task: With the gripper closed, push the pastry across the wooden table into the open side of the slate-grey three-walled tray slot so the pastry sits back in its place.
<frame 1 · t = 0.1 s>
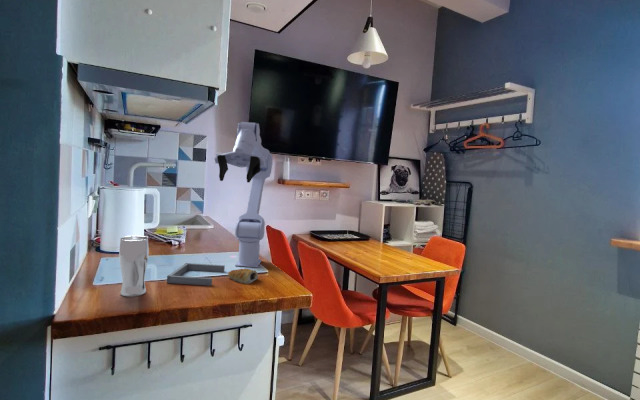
hand: (234, 179, 102), 32 cm above the countertop, tool tilted 50°, fingers open, 7 cm apart
tray slot: (199, 276, 115), on the countertop
pastry: (243, 281, 115), on the countertop
beer glass: (133, 293, 98), on the countertop
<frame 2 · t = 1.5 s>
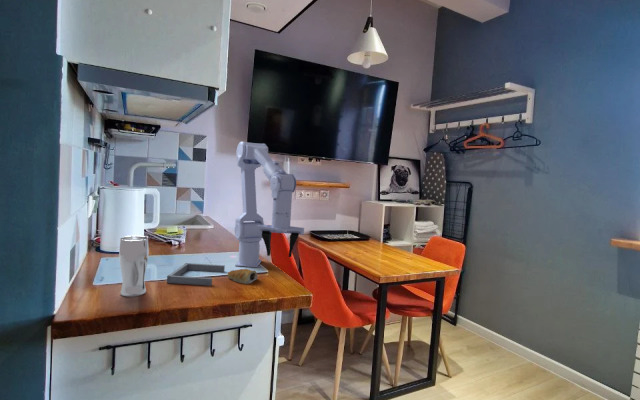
hand: (279, 255, 114), 8 cm above the countertop, tool pointing down, fingers open, 6 cm apart
nothing on the countertop moved.
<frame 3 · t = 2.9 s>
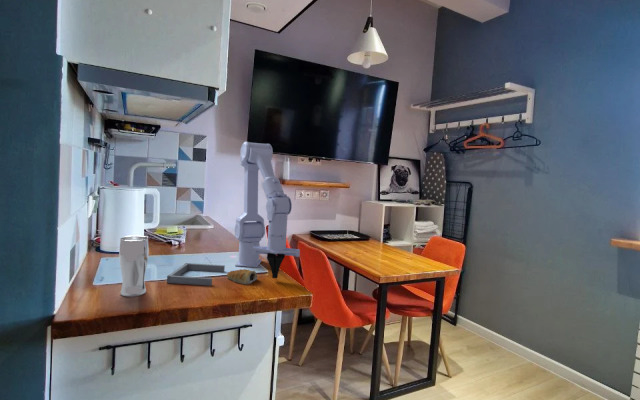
hand: (274, 277, 115), 1 cm above the countertop, tool pointing down, fingers closed
nothing on the countertop moved.
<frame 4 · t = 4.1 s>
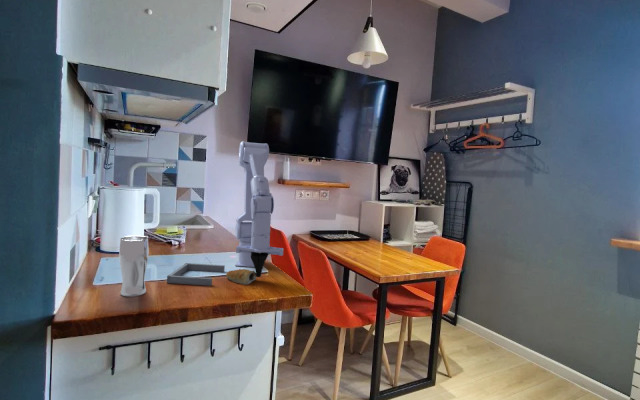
hand: (258, 276, 115), 1 cm above the countertop, tool pointing down, fingers closed
pastry: (241, 281, 114), on the countertop, touching gripper
everything else where it was.
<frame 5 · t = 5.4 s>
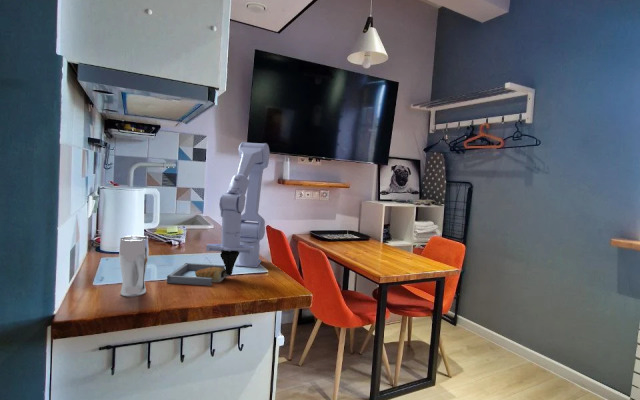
hand: (229, 274, 115), 1 cm above the countertop, tool pointing down, fingers closed
pastry: (211, 279, 113), on the countertop, touching gripper
everything else where it was.
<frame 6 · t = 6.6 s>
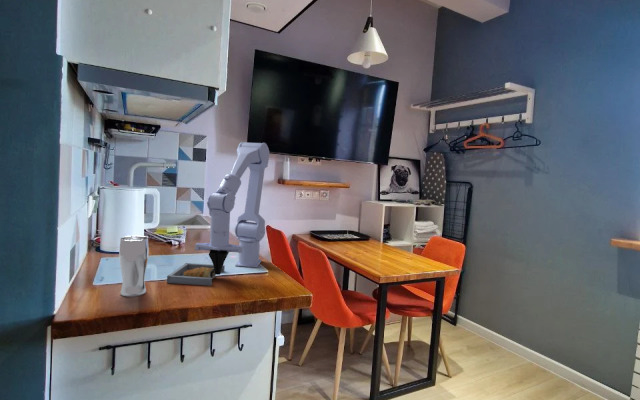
hand: (218, 273, 115), 1 cm above the countertop, tool pointing down, fingers closed
pastry: (200, 280, 113), on the countertop
everything else where it was.
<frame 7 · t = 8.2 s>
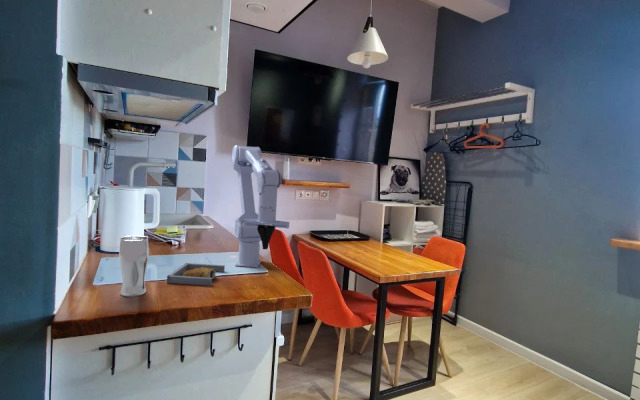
hand: (265, 248, 118), 9 cm above the countertop, tool pointing down, fingers closed
nothing on the countertop moved.
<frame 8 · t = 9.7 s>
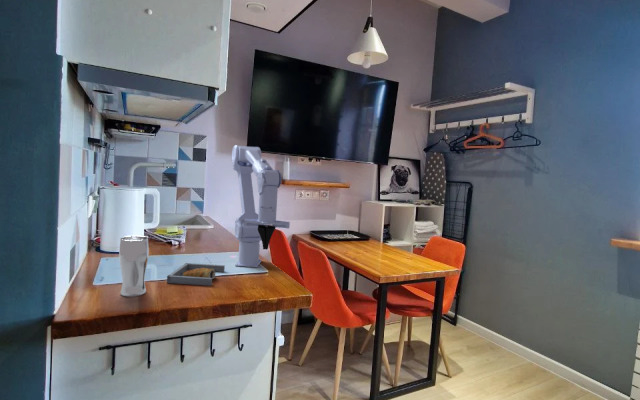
hand: (265, 248, 118), 9 cm above the countertop, tool pointing down, fingers closed
nothing on the countertop moved.
at the end: pastry inside the target area on the tray slot (2.7 cm from its centre), point -0.5 cm above the tray slot's base; pastry moved 13.1 cm from its start; beer glass moved 0.2 cm from its start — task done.
